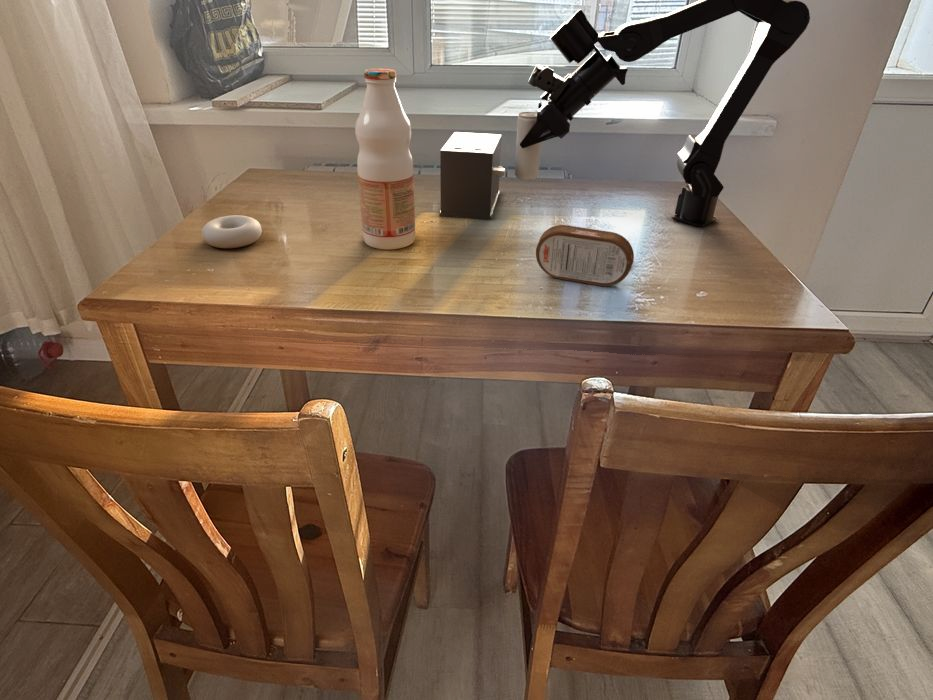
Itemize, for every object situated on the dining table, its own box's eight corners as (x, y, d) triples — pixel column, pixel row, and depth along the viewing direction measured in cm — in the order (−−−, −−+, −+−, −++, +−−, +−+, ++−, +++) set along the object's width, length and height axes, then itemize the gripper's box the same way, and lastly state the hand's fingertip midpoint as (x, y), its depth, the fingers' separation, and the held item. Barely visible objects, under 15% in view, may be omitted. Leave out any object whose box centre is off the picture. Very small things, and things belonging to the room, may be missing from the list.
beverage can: (535, 181, 114) (540, 117, 108) (512, 179, 116) (515, 115, 109) (540, 175, 118) (545, 112, 112) (517, 172, 119) (521, 111, 113)
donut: (235, 256, 98) (275, 235, 106) (231, 237, 96) (271, 217, 104) (191, 245, 101) (233, 226, 109) (186, 227, 100) (229, 208, 107)
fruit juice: (360, 250, 101) (345, 73, 86) (366, 230, 109) (353, 65, 93) (414, 250, 101) (408, 74, 86) (416, 231, 109) (411, 66, 94)
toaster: (508, 194, 128) (511, 134, 121) (500, 220, 115) (504, 153, 108) (453, 191, 130) (453, 130, 123) (439, 216, 116) (439, 149, 109)
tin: (629, 283, 92) (638, 233, 87) (627, 292, 89) (636, 240, 85) (536, 269, 96) (540, 220, 91) (531, 276, 93) (536, 226, 89)
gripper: (557, 43, 112) (497, 102, 119) (556, 53, 96) (488, 121, 103) (593, 88, 115) (533, 144, 122) (598, 105, 99) (530, 167, 107)
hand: (521, 143), depth 113 cm, fingers closed on beverage can, 5 cm apart
